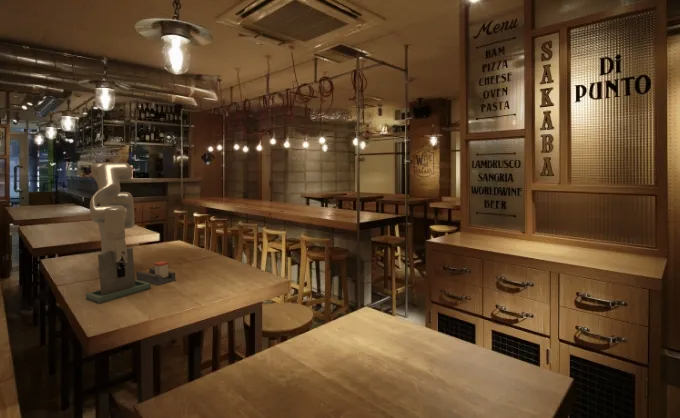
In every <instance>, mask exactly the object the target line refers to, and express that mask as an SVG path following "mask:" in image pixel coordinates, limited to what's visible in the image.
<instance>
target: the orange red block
mask: <svg viewBox="0 0 680 418" xmlns="http://www.w3.org/2000/svg"><path fill="white" fill-rule="evenodd" d="M153 266H154V268H155V275H160V276H162V278H165V277H169V276H168V271H169V261H164V260H162V261H158V262H157V261H156V262H154V263H153Z"/></svg>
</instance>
